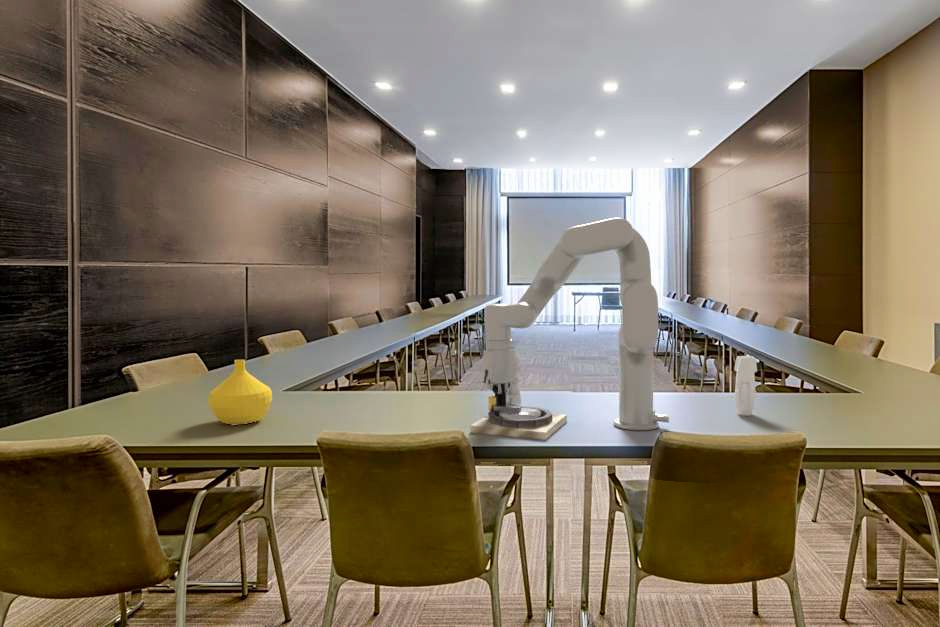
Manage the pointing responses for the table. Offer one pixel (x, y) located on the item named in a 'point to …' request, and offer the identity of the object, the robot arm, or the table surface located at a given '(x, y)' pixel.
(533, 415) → the dial
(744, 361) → the flashlight
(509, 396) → the plastic bottle
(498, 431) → the dial plate
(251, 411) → the vase
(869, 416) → the table surface
